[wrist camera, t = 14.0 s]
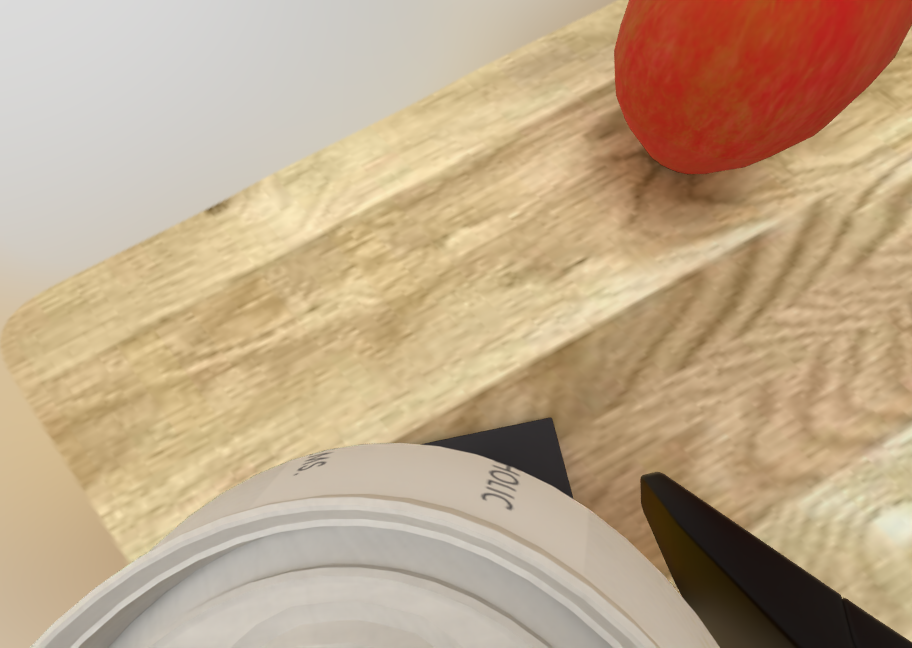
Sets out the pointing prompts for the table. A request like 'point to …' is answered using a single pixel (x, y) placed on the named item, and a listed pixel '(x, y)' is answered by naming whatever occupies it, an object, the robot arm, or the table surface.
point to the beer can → (387, 566)
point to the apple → (746, 73)
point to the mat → (519, 450)
